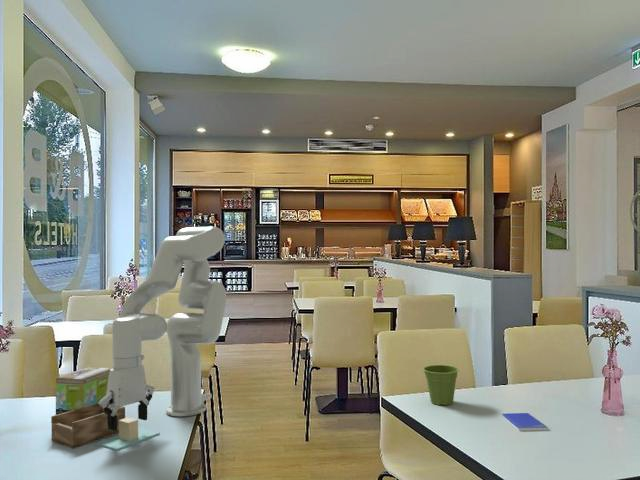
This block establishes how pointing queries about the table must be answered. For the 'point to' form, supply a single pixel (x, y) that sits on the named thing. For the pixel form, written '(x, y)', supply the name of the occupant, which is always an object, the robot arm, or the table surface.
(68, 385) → the tea box
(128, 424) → the cover plate
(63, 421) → the walnut box
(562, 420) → the table surface
